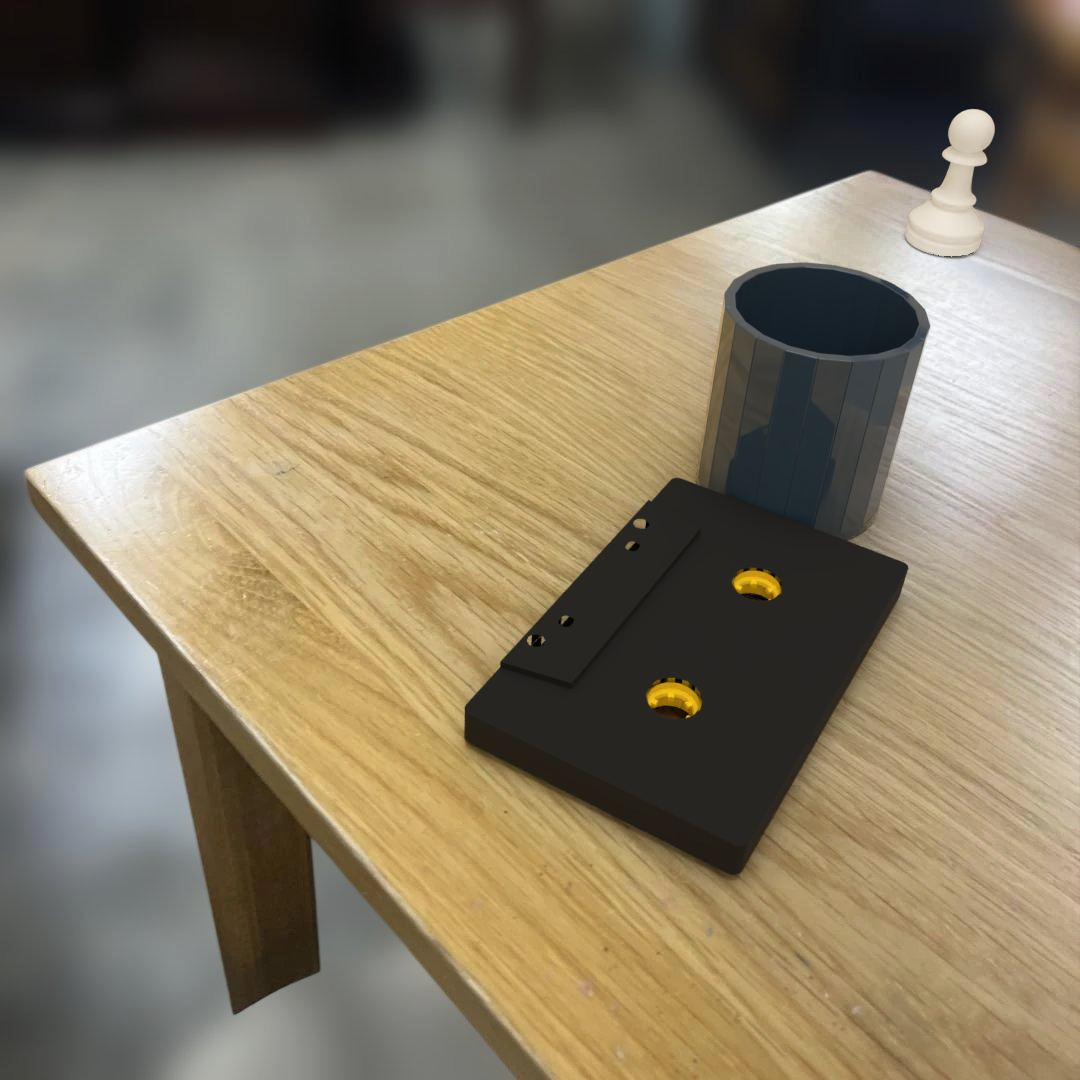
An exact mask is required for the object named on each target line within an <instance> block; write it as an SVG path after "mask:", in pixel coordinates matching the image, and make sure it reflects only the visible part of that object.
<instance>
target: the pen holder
mask: <svg viewBox="0 0 1080 1080" xmlns="http://www.w3.org/2000/svg"><path fill="white" fill-rule="evenodd" d="M930 330H931V322H930V319H929V316H928V313H927V311H926V309H925V307H924V306H923V305H921V303H920V302H919V301H918V300H917V299H916V298H915V297H914V296H913V295H912V294H911V293H909V292H908V291H906V290H904V289H903V288H901V287H899V286H898V285H896V284H894V283H893V282H891V281H889V280H887V279H884V278H881V277H878V276H876V275H873V274H871V273H868V272H865V271H862V270H858V269H854V268H849V267H844V266H841V265H836V264H827V263H819V262H815V263H814V262H801V261H799V262H785V263H784V262H783V263H782V262H781V263H773V264H769V265H765V266H761V267H756V268H753V269H750V270H748V271H746V272H745V273H743V274H741V275H739V276H737V277H736V278H734V279H733V280H732V281H731V283H730V284H729V286H728V287H727V289H726V290H725V291H724V294H723V299H722V306H721V312H720V319H719V325H718V331H717V338H716V344H715V349H714V350H715V351H714V356H713V364H712V370H711V376H710V383H709V389H708V396H707V402H706V407H705V413H704V420H703V426H702V427H703V428H702V434H701V440H700V447H699V453H698V459H697V470H696V480H695V481H696V484H697V485H700V486H702V487H705V488H708V489H710V490H713V491H716V492H718V493H721V494H724V495H726V496H729V497H732V498H734V499H737V500H740V501H742V502H745V503H748V504H750V505H753V506H756V507H758V508H761V509H764V510H766V511H769V512H772V513H774V514H777V515H780V516H782V517H785V518H788V519H790V520H793V521H796V522H798V523H801V524H804V525H806V526H809V527H812V528H814V529H817V530H819V531H822V532H825V533H827V534H830V535H833V536H835V537H838V538H841V539H843V540H846V541H848V540H850V539H852V538H855V537H856V536H858V535H860V534H861V533H864V531H866V530H867V529H868V528H869V527H870V526H871V525H872V523H874V521H875V520H876V518H877V516H878V514H879V510H880V506H881V503H882V500H883V498H884V495H885V491H886V488H887V484H888V480H889V477H890V473H891V470H892V467H893V466H892V465H893V462H894V458H895V455H896V451H897V448H898V445H899V442H900V441H899V440H900V437H901V433H902V430H903V426H904V423H905V419H906V416H907V412H908V408H909V406H910V401H911V398H912V395H913V391H914V387H915V384H916V380H917V377H918V373H919V370H920V365H921V363H922V359H923V355H924V351H925V348H926V344H927V340H928V337H929V334H930Z"/></svg>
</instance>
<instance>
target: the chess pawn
mask: <svg viewBox="0 0 1080 1080" xmlns="http://www.w3.org/2000/svg"><path fill="white" fill-rule="evenodd" d="M995 127H996V126H995V123H994V120H993V118H992V117H991V116H990V114H988V113H987V112H986V111H984V110H982V109H975V108H970V109H966V110H963V111H961V112H959V113H958V114H957V115H956V116H955V117H954V118H952V120H951V123H950V125H949V127H948V131H947V137H948V139H949V143H950V146H948V147H947V148H945V149H944V150H943V151H942V153H941V156H942V158H943V159H944V160H946V161H947V162H950V164H949V166H948V169H947V172H946V173H945V174H946V175H945V177H944V179H943V181H942V183H941V185H940V186H939V187H935V188H934V189H932V191H931V193H930V198H931V199H929V200H927V201H925V202H923V203H922V204H920V205H918V206H917V207H915V208H914V209H912V210H911V211H910V213H909V216H908V220H909V221H908V222H907V224H906V228H905V231H904V235H905V239H906V240H907V242H908V243H909V244H910V245H911V246H912V247H914V248H915V249H917V250H919V251H921V252H924V253H926V254H930V255H933V254H934V255H933V256H938V255H939V257H944V256H951V257H950V258H953V257H952V256H961V255H967V254H970V253H972V252H974V253H976V252H977V251H978V250H979V249H980V245H981V242H982V238H983V236H982V235H983V234H984V232H985V229H986V225H985V223H984V220H983V218H981V216H980V215H979V213H978V212H977V211H976V209H975V208H974V205H976V203H977V197H976V196H975V195H974V193H973V191H972V182H973V177H974V171H975V167H981V166H983V165H985V164H986V163H987V162H988V158H987V155H986V153H985V152H984V150H986V148H988V147H989V146H990V145H991V143H992V141H993V138H994V136H995V133H996V132H995V130H996V128H995ZM977 249H978V250H977ZM976 250H977V251H976ZM975 251H976V252H975ZM970 255H971V254H970ZM967 256H968V255H967Z"/></svg>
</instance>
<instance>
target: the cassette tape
mask: <svg viewBox="0 0 1080 1080" xmlns="http://www.w3.org/2000/svg"><path fill="white" fill-rule="evenodd" d="M636 520H645V526H644V528H640V527H637V526H636V525H635V524H634V523H635V522H636ZM631 542H632V543H633V544H632V545H631V546H630V547H629V548H627V546H628V544H629V543H631ZM908 572H909V565H908V564H907V563H906V562H904V561H902V560H899V559H897V558H893V557H891V556H888V555H885V554H883V553H880V552H877V551H875V550H873V549H870V548H867V547H865V546H862V545H859V544H856V543H854V542H851V541H849V540H843V539H841V538H838V537H835V536H833V535H830V534H827V533H825V532H822V531H819V530H817V529H814V528H812V527H809V526H806V525H804V524H801V523H798V522H796V521H793V520H790V519H788V518H785V517H782V516H780V515H777V514H774V513H772V512H769V511H766V510H764V509H761V508H758V507H756V506H753V505H750V504H748V503H745V502H742V501H740V500H737V499H734V498H732V497H729V496H726V495H724V494H721V493H718V492H716V491H713V490H710V489H708V488H705V487H702V486H700V485H697V483H694V482H692V481H689V480H687V479H684V478H680V477H673V478H671V479H670V480H669V481H668V482H667V483H666V485H665V486H664V487H663V488H662V489H661V490H660V491H659V492H658V493H657V494H656V495H655V496H654V497H653V499H652V500H650V499H648V500H647V501H646V502H645V503H644V504H643V505H642V506H641V507H640V509H639V510H638V511H637V512H636V513H635V514H634V515H633V516H632V517H631V518H630V519H629V520H628V522H627V523H626V524H625V525H624V526H623V527H622V528H621V529H620V530H619V532H617V533H616V535H615V536H614V537H613V538H612V539H611V540H610V541H609V542H608V544H607V545H606V546H605V547H604V548H603V549H602V550H601V551H600V552H599V553H598V554H597V556H595V558H594V559H592V561H591V562H590V563H589V564H588V565H587V566H586V567H585V569H584V570H583V571H582V572H581V573H580V574H579V575H578V576H577V577H576V578H575V579H574V581H572V583H570V585H569V586H568V587H567V588H566V589H565V590H564V592H563V593H561V594H560V596H559V597H558V598H557V599H556V600H555V601H554V602H553V604H551V606H550V607H549V608H548V609H547V610H546V611H545V612H544V613H543V614H542V616H541V617H540V618H539V619H538V620H537V621H536V622H535V623H534V624H533V625H532V626H531V628H530V629H529V630H528V631H527V632H526V633H525V634H524V635H523V636H522V637H521V638H520V639H519V640H518V642H516V644H515V645H514V646H513V647H512V648H511V649H510V651H508V653H506V655H505V656H504V657H503V658H502V659H501V660H500V662H499V664H500V665H499V668H498V669H497V670H496V671H495V672H494V673H493V674H492V675H491V676H490V677H489V679H488V680H487V681H486V682H484V684H483V685H482V686H481V687H480V688H479V689H478V691H477V692H476V693H475V694H474V695H473V696H472V697H471V698H470V699H469V700H468V702H467V703H466V704H465V705H464V720H463V721H464V725H463V726H464V730H463V732H464V734H463V737H464V738H463V739H464V740H465V742H466V743H468V744H470V745H471V746H473V747H475V748H478V749H479V750H481V751H484V752H486V753H488V754H490V755H492V756H493V757H495V758H498V759H499V760H502V761H503V762H506V763H508V765H509V764H510V765H512V766H513V767H515V768H518V769H519V770H522V771H524V772H525V773H527V774H529V775H531V776H533V777H535V778H537V779H539V780H541V781H543V782H545V783H547V784H549V785H552V786H554V787H555V788H557V789H559V790H561V791H563V792H565V793H567V794H569V795H571V796H573V797H575V798H577V799H579V800H581V801H583V802H584V803H586V804H589V805H591V806H593V807H595V808H596V809H599V810H600V811H603V812H605V813H606V814H609V815H610V816H612V817H614V818H617V819H619V820H621V821H623V822H625V823H627V824H629V825H631V826H632V827H635V828H637V829H638V830H640V831H643V832H644V833H646V834H649V835H651V836H652V837H654V838H657V839H659V840H661V841H662V842H665V843H666V844H669V845H671V846H672V847H674V848H677V849H679V850H681V851H682V852H685V853H686V854H688V855H690V856H693V857H695V858H696V859H699V860H700V861H702V862H704V863H706V864H708V865H710V866H712V867H715V868H716V869H718V870H720V871H722V872H724V873H726V874H728V875H731V876H736V875H739V874H741V873H742V872H743V871H744V868H745V866H746V865H747V863H748V861H749V860H750V858H751V857H752V854H753V852H754V851H755V849H756V847H757V846H758V844H759V842H760V841H761V839H762V837H763V835H764V834H765V832H766V830H767V828H768V826H769V825H770V823H771V821H772V819H773V818H774V816H775V814H776V813H777V811H778V809H779V807H780V806H781V804H782V802H783V801H784V799H785V797H786V795H787V794H788V792H789V790H790V788H791V786H792V785H793V783H794V782H795V779H796V778H797V776H798V774H799V773H800V771H801V769H802V768H803V766H804V764H805V762H806V760H807V759H808V757H809V755H810V754H811V751H812V750H813V748H814V747H815V745H816V743H817V741H818V740H819V738H820V736H821V734H822V732H823V731H824V730H825V727H826V725H828V722H829V720H830V719H831V717H832V715H833V714H834V711H835V710H836V708H837V707H838V705H839V703H840V701H841V699H842V698H843V696H844V694H845V692H846V691H847V689H848V688H849V685H850V684H851V682H852V680H853V679H854V677H855V675H856V673H857V671H858V670H859V668H860V666H861V665H862V663H863V661H864V660H865V658H866V657H867V654H868V653H869V651H870V649H871V647H872V646H873V644H874V642H875V640H876V638H877V637H878V635H879V634H880V632H881V630H882V628H883V626H884V625H885V623H886V621H887V619H888V617H890V614H891V613H892V611H893V609H894V607H895V606H896V604H897V602H898V600H899V598H900V597H901V595H902V594H901V593H902V590H903V587H904V584H905V581H906V577H907V574H908ZM746 596H753V597H757V598H761V599H763V600H756V599H752V598H748V597H746ZM563 617H567V618H566V619H565V620H564V622H562V621H563ZM529 637H530V639H531V642H530V644H529V642H528V640H529ZM542 640H544V641H542ZM659 707H673V708H676V709H680V710H682V711H684V712H685V713H687V714H688V715H686V717H685V718H672V717H669V716H665V715H662V714H660V713H658V712H657V711H656V710H654V709H657V708H659Z"/></svg>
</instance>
